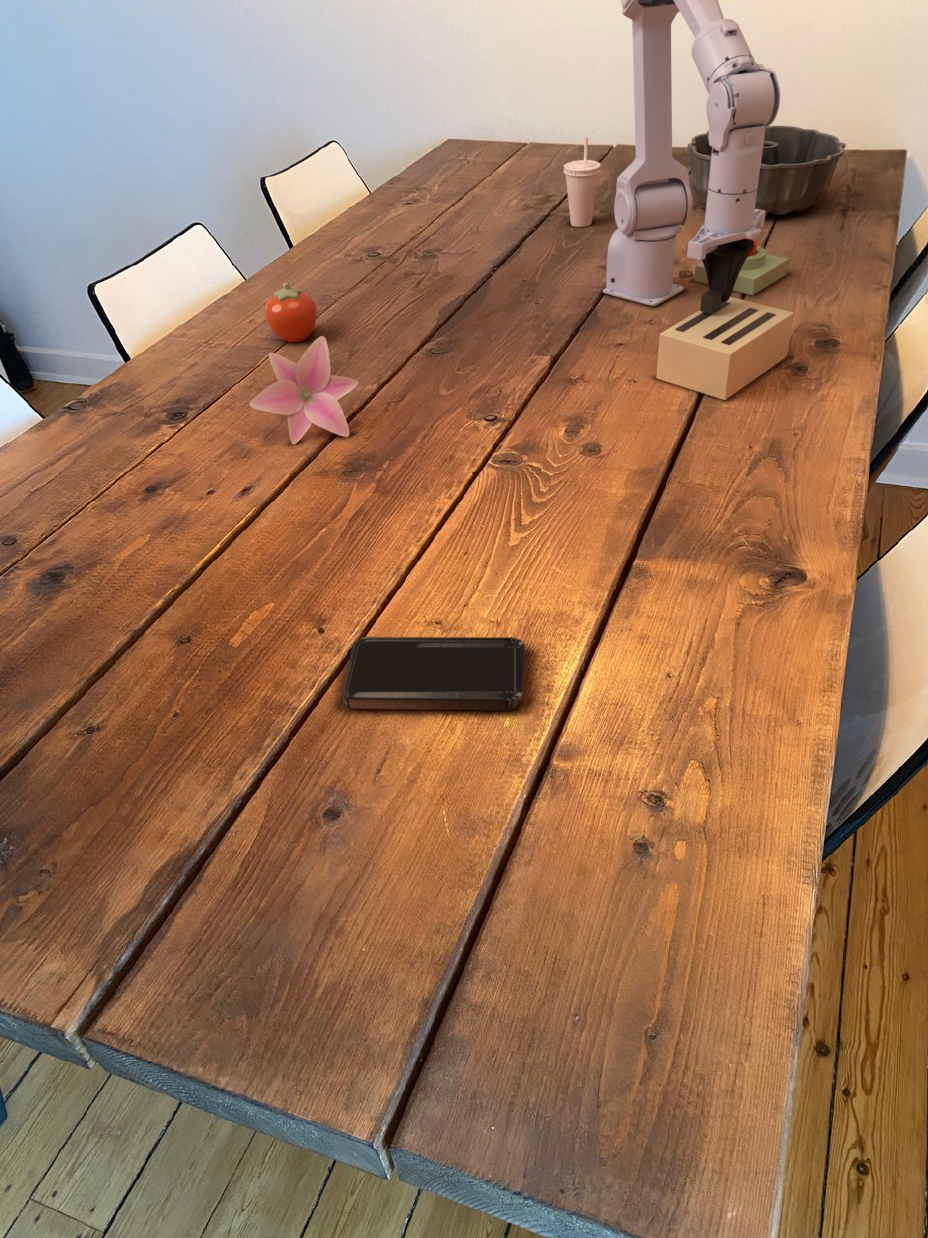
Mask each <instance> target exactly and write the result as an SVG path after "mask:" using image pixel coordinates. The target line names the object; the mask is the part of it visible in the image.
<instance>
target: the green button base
mask: <svg viewBox="0 0 928 1238" xmlns="http://www.w3.org/2000/svg"><path fill="white" fill-rule="evenodd" d="M789 260H790V259H789V258H786V257H782V256H777V255H772V254H769V253H767V249H765V248H763V247H762V246H759V245H757V248H756V255H753V256H748V257H747V259H746V260H745V262H744V264H743V266H742V268H741V270H740V272H739V275H738V277H737V280H736V283H735V285H734V288H733V291H734V292H737V293H742V294H744V295H745V294H746V295H749V296H754V295H755V294H757V293H758V292H760V291H762V290H763V289H765V288H767V287H769V286H771V285H772V284H773V283H775V282H777V281H779V280H780V279H782V278H783V277H785V276H787V273H788V266H789ZM693 281H694V282H697V283H701V284H705V285H708V280H707V274H706V270H705V267H704V264H703V262H702V261H701V262H699V263H697V264H695V266H694V278H693ZM733 291H732V292H733Z"/></svg>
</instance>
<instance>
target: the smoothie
mask: <svg viewBox="0 0 928 1238" xmlns="http://www.w3.org/2000/svg"><path fill="white" fill-rule="evenodd" d="M583 142H584V144H583V145H584V147H583V148H584V149H583V159H580V160H578V159H577V160H572V161H569V162H566V163H565V164H564V165H563V174H565V181H566V182H565V183H566V190H567V200H568V202H567V203H568V211H569V220H570V225H571V226H572V227H577V228H583V227H584V228H585V227H588V226H590V225H592V223H593V217H594V216H593V215H594V209H595V202H596V195H597V189H598V182H599V176H600V175H599V174H600V173H601V171H602V164H601V163H600V162H598V161H597V160H592V159H591V160H590V159H588V149H589V147H588V145H589V137H588V136H585V137H584V141H583Z"/></svg>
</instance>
